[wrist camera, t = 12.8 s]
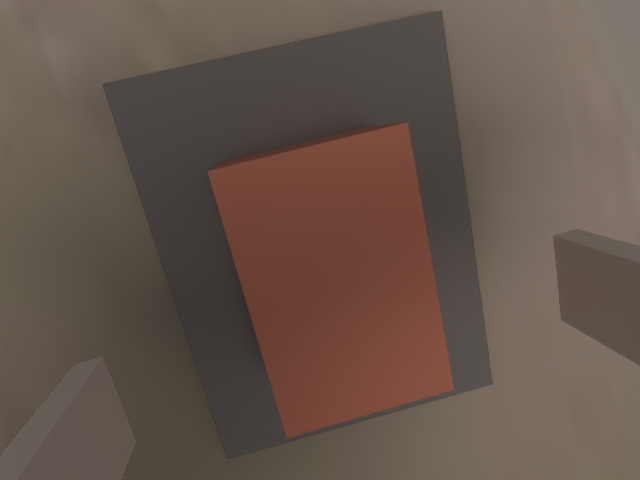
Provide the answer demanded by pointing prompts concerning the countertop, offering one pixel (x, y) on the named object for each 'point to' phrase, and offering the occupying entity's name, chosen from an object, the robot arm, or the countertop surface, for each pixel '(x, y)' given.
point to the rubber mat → (276, 132)
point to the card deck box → (336, 274)
